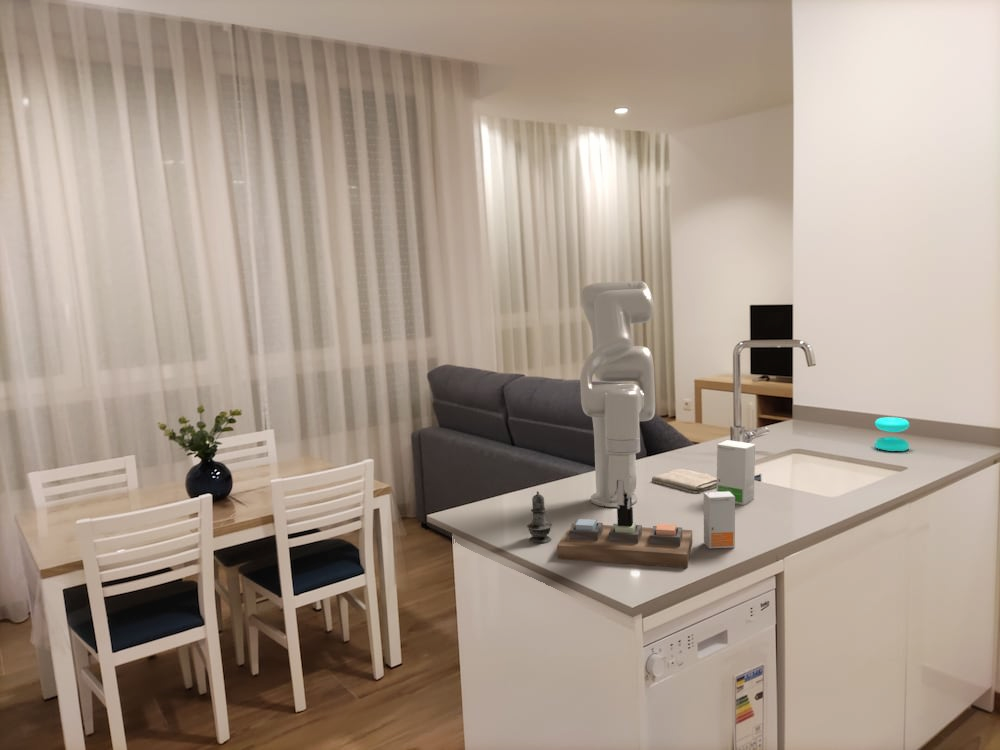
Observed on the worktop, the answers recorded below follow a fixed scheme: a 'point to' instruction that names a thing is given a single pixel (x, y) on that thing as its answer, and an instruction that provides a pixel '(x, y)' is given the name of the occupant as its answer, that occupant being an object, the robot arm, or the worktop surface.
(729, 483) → the skincare box
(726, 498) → the skincare box
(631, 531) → the green button
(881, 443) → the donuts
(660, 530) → the terracotta button
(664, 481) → the washcloth
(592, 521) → the blue button
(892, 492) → the worktop surface
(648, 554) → the console
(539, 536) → the dark grey figurine
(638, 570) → the worktop surface
